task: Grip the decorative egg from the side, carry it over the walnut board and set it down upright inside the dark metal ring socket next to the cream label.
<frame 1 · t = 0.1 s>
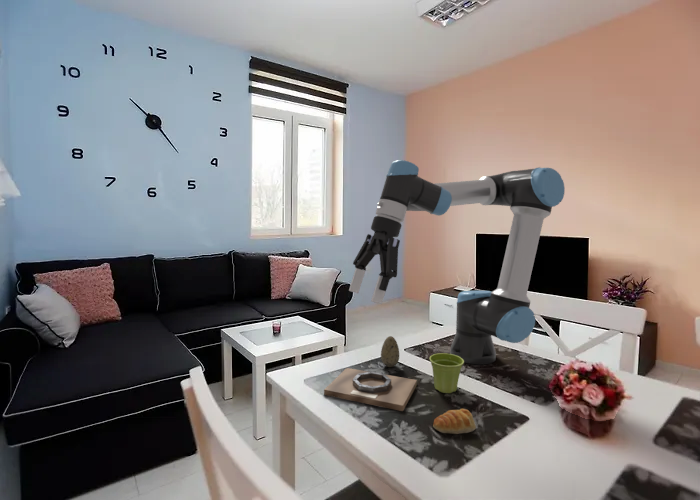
hand: (364, 297, 100), 28 cm above the table, tool tilted 20°, fingers open, 13 cm apart
ring socket: (371, 382, 108), on the walnut board, point 2 cm above the table
decorative egg: (389, 367, 125), on the table
walnut board: (371, 389, 109), on the table
plant pot: (445, 389, 110), on the table
pastry: (455, 428, 90), on the table
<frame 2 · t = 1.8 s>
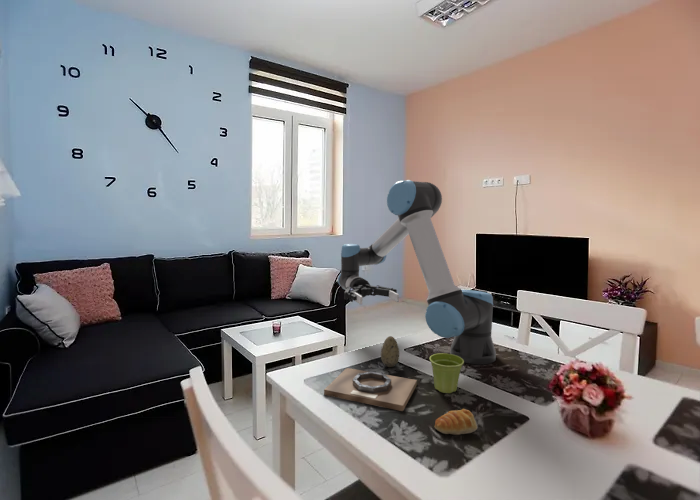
hand: (380, 299, 131), 20 cm above the table, tool horizontal, fingers open, 13 cm apart
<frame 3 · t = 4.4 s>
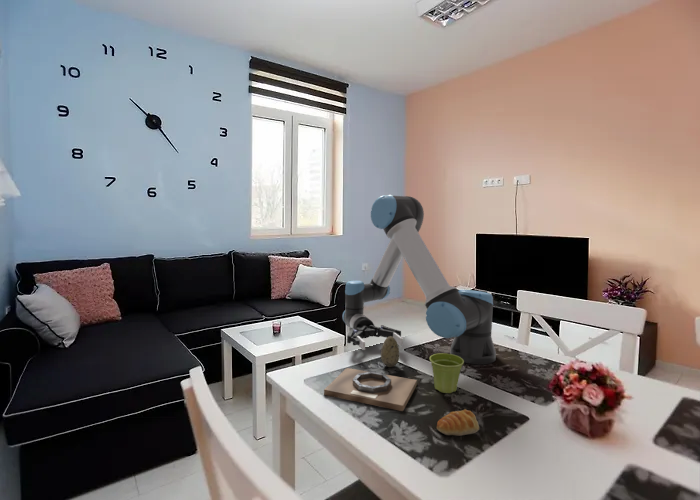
hand: (383, 344, 129), 6 cm above the table, tool horizontal, fingers open, 13 cm apart
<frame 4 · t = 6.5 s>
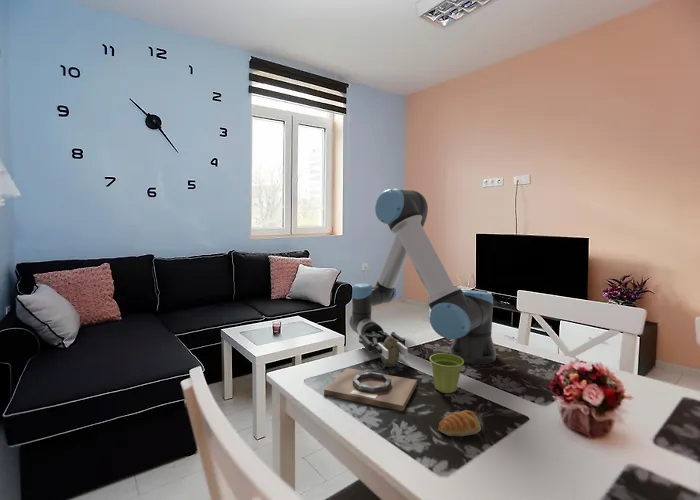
hand: (397, 353, 120), 6 cm above the table, tool horizontal, fingers closed on decorative egg, 6 cm apart
decorative egg: (389, 366, 125), on the table, touching gripper
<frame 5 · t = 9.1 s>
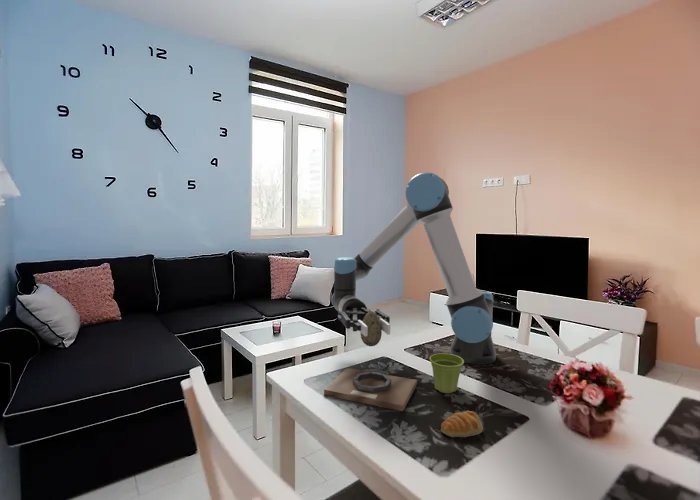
hand: (377, 330, 104), 18 cm above the table, tool horizontal, fingers closed on decorative egg, 6 cm apart
decorative egg: (370, 346, 109), point 12 cm above the table, touching gripper
when the fingers open (9 cm above the table, at t = 11.7 s): decorative egg drops 1 cm, resting on walnut board.
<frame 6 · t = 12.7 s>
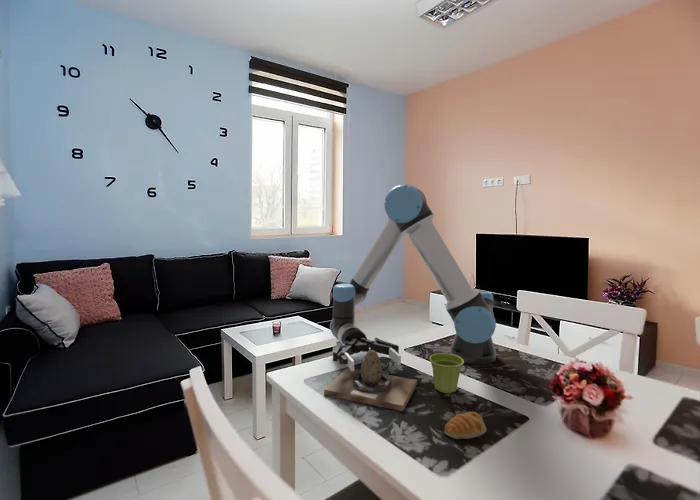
hand: (376, 363, 105), 9 cm above the table, tool horizontal, fingers open, 13 cm apart
decorative egg: (371, 385, 108), point 1 cm above the table, touching walnut board
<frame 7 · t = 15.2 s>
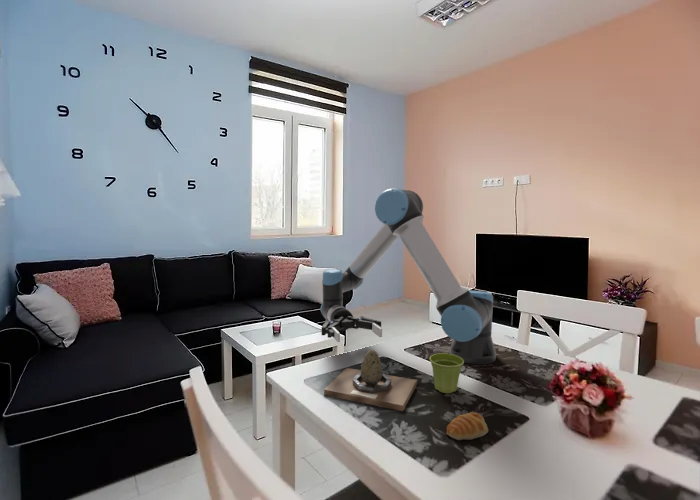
hand: (360, 335, 117), 12 cm above the table, tool horizontal, fingers open, 13 cm apart
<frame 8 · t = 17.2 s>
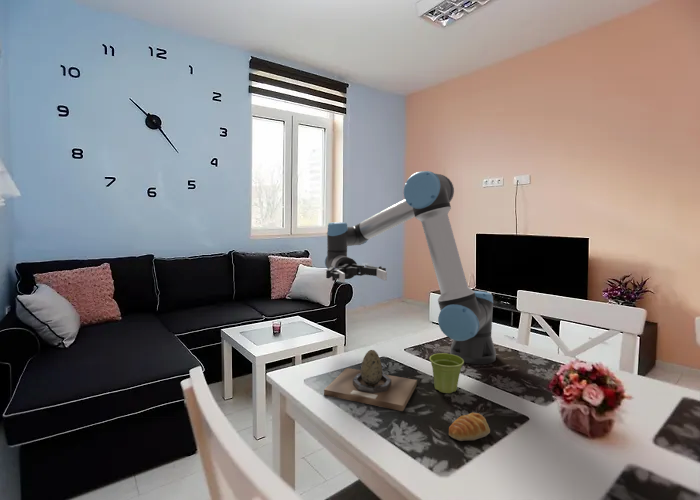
hand: (365, 277, 118), 30 cm above the table, tool horizontal, fingers open, 13 cm apart
at the end: decorative egg 0.2 cm off-centre on the ring socket, point 1.3 cm above the ring socket's base; decorative egg tilted 0°; the gripper is holding nothing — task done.
